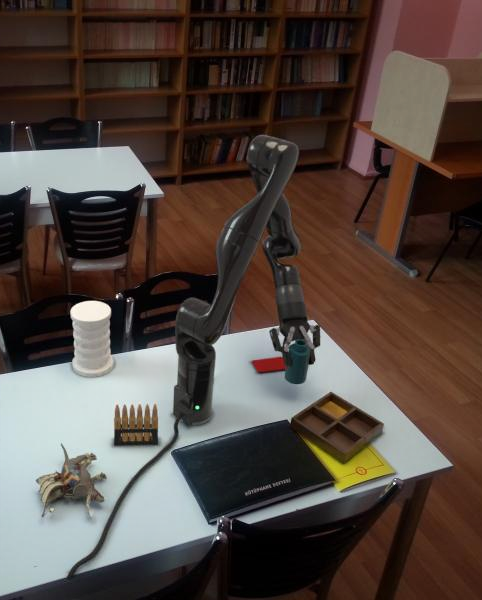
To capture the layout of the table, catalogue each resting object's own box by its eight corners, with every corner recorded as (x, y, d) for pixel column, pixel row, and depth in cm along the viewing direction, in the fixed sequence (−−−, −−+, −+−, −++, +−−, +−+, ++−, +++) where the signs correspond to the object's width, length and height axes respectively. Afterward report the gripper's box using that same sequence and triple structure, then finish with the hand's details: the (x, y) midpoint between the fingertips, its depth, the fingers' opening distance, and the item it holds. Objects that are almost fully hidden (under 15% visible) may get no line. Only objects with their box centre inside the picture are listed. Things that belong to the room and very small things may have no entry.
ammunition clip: (113, 445, 148) (112, 407, 142) (114, 440, 149) (113, 401, 143) (158, 444, 149) (159, 406, 143) (158, 439, 150) (159, 401, 144)
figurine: (127, 483, 131) (59, 527, 120) (126, 501, 134) (60, 545, 124) (73, 430, 142) (7, 466, 132) (74, 448, 146) (9, 484, 135)
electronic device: (258, 373, 176) (306, 367, 180) (258, 371, 176) (306, 365, 180) (251, 361, 181) (298, 355, 185) (251, 360, 181) (298, 354, 185)
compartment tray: (343, 463, 147) (345, 454, 146) (289, 426, 157) (291, 417, 156) (381, 432, 157) (384, 423, 156) (329, 400, 168) (330, 391, 166)
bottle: (296, 387, 162) (302, 351, 156) (280, 377, 165) (285, 341, 159) (309, 379, 165) (316, 343, 160) (293, 369, 169) (299, 334, 163)
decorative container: (80, 350, 181) (77, 297, 172) (118, 355, 180) (117, 303, 171) (66, 373, 171) (62, 319, 162) (106, 379, 170) (105, 324, 161)
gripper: (269, 301, 160) (279, 365, 156) (320, 298, 163) (331, 360, 159) (261, 308, 167) (270, 370, 163) (310, 305, 170) (320, 365, 166)
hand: (300, 365), depth 161 cm, fingers closed on bottle, 6 cm apart
